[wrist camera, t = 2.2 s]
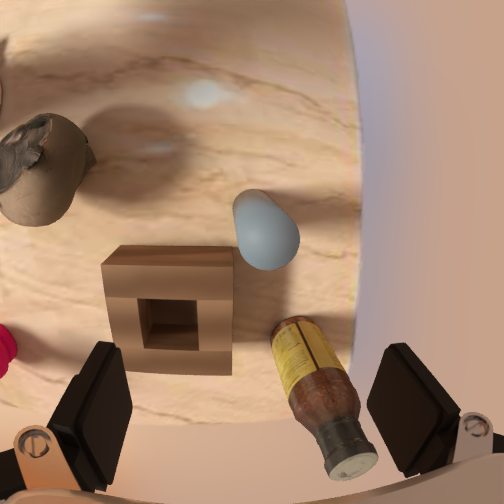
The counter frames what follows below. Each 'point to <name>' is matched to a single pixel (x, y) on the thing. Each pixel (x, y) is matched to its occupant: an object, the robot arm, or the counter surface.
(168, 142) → the counter surface
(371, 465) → the sauce bottle
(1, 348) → the pepper mill
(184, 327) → the socket block
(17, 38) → the counter surface
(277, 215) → the peg
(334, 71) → the counter surface
